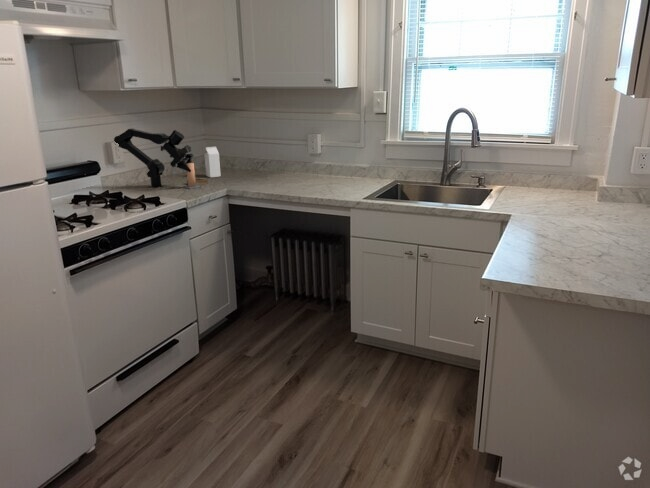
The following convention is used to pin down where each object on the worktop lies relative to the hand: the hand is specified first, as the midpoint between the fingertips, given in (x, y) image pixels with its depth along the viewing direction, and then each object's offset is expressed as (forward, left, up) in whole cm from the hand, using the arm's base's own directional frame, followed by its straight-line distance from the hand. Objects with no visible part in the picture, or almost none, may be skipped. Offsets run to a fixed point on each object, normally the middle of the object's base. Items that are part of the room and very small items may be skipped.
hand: (192, 170), depth 286 cm
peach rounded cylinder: (-1, -1, -9) cm, 9 cm away
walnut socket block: (-9, +8, -10) cm, 16 cm away
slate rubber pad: (-1, -1, -10) cm, 10 cm away
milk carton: (-24, +29, -10) cm, 39 cm away
